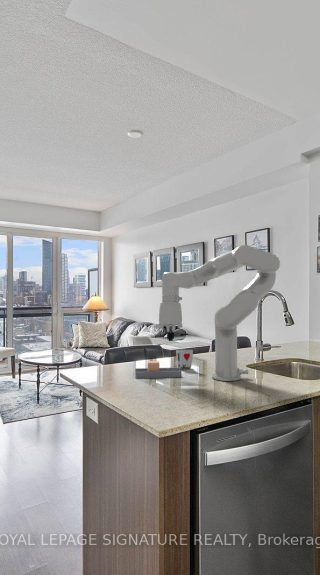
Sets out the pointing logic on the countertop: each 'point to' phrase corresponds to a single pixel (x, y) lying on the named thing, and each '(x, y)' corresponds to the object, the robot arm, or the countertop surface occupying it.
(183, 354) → the cup
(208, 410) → the countertop surface
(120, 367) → the countertop surface
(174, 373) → the grey railed tray
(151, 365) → the block
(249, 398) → the countertop surface
